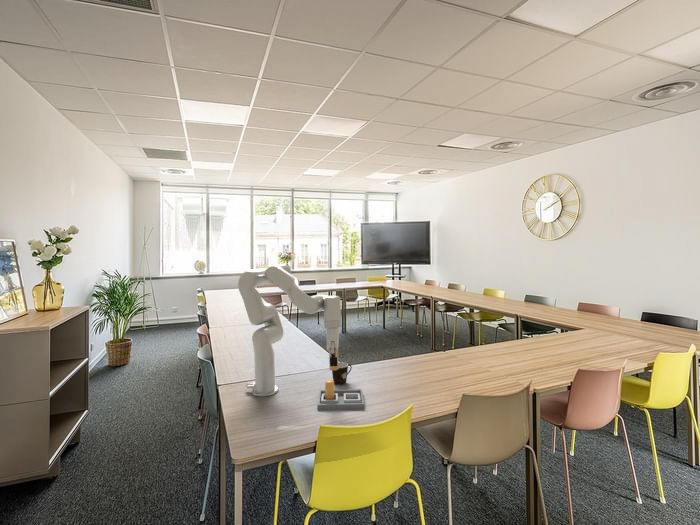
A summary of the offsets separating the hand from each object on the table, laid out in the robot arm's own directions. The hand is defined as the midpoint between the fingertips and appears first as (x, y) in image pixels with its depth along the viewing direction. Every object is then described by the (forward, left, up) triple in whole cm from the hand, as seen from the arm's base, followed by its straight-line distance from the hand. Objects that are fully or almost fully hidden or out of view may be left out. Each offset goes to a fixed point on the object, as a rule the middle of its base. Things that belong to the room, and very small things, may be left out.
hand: (333, 363), depth 152 cm
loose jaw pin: (0, 0, -2) cm, 2 cm away
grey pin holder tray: (+3, 0, -18) cm, 18 cm away
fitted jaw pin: (-2, 0, -17) cm, 17 cm away
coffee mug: (+4, +22, -18) cm, 29 cm away
